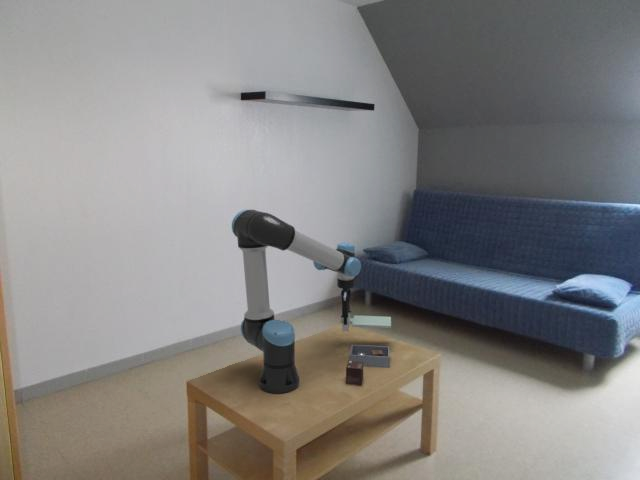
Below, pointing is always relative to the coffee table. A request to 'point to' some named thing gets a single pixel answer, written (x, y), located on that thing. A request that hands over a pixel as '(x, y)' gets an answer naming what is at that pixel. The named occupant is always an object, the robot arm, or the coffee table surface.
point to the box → (354, 373)
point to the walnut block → (376, 353)
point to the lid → (370, 321)
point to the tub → (367, 358)
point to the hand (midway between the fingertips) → (345, 328)
